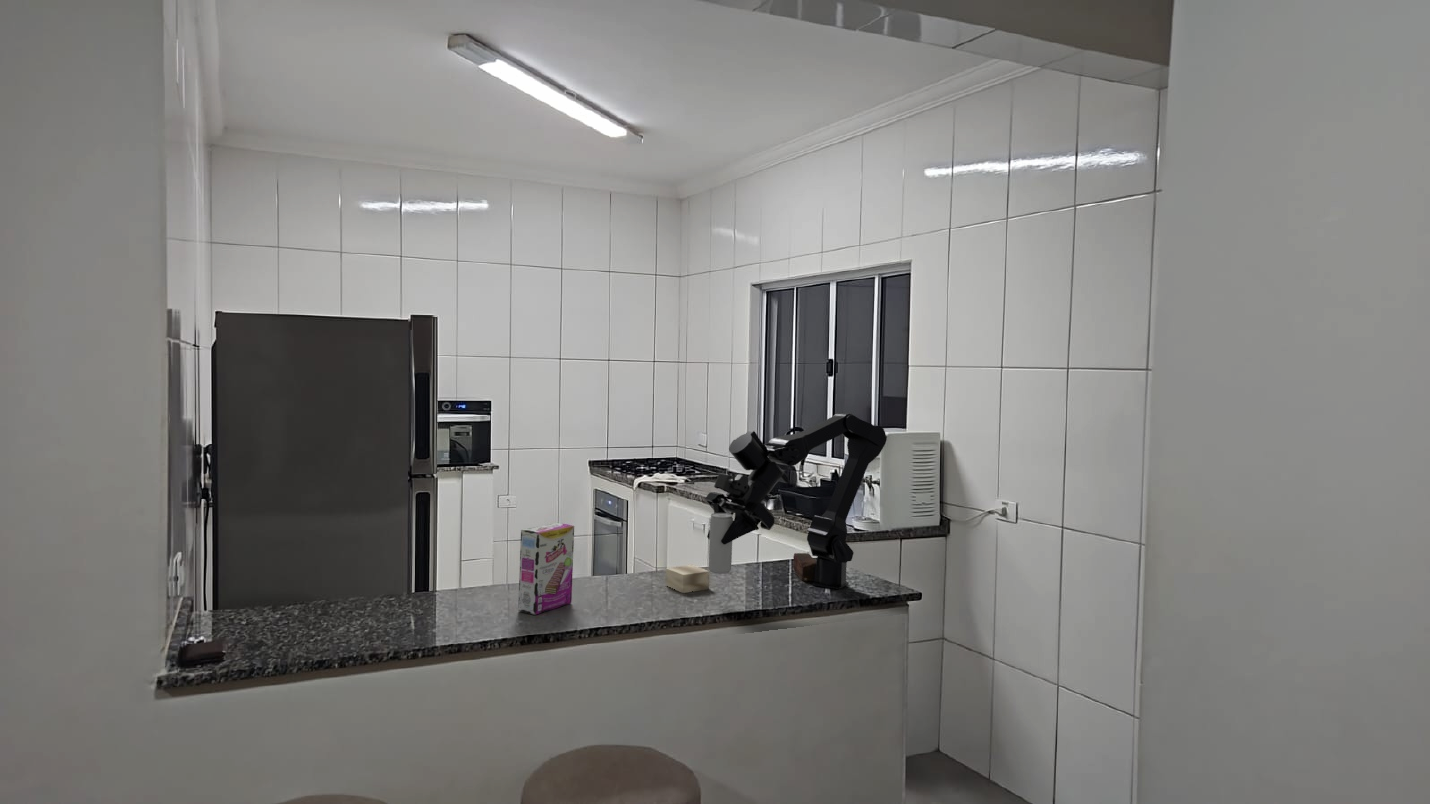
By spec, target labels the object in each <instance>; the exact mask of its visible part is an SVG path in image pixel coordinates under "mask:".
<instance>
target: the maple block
mask: <svg viewBox="0 0 1430 804" xmlns="http://www.w3.org/2000/svg"><path fill="white" fill-rule="evenodd" d="M667 586H669V587H671V588H670V589H672V588H673V589H672V590H674V589H675V590H674V591H676V592H680V593H682V594H685V593H691V592H692V591H693V592H698V591H704V590H709V589H710V570H709V569H708V570H707V569H704V568H702V567H700V566H696V565H693V564H688V565H681V566H675V567H673V566H672V567H667V568H665V587H667ZM669 587H668V588H669Z"/></svg>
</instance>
